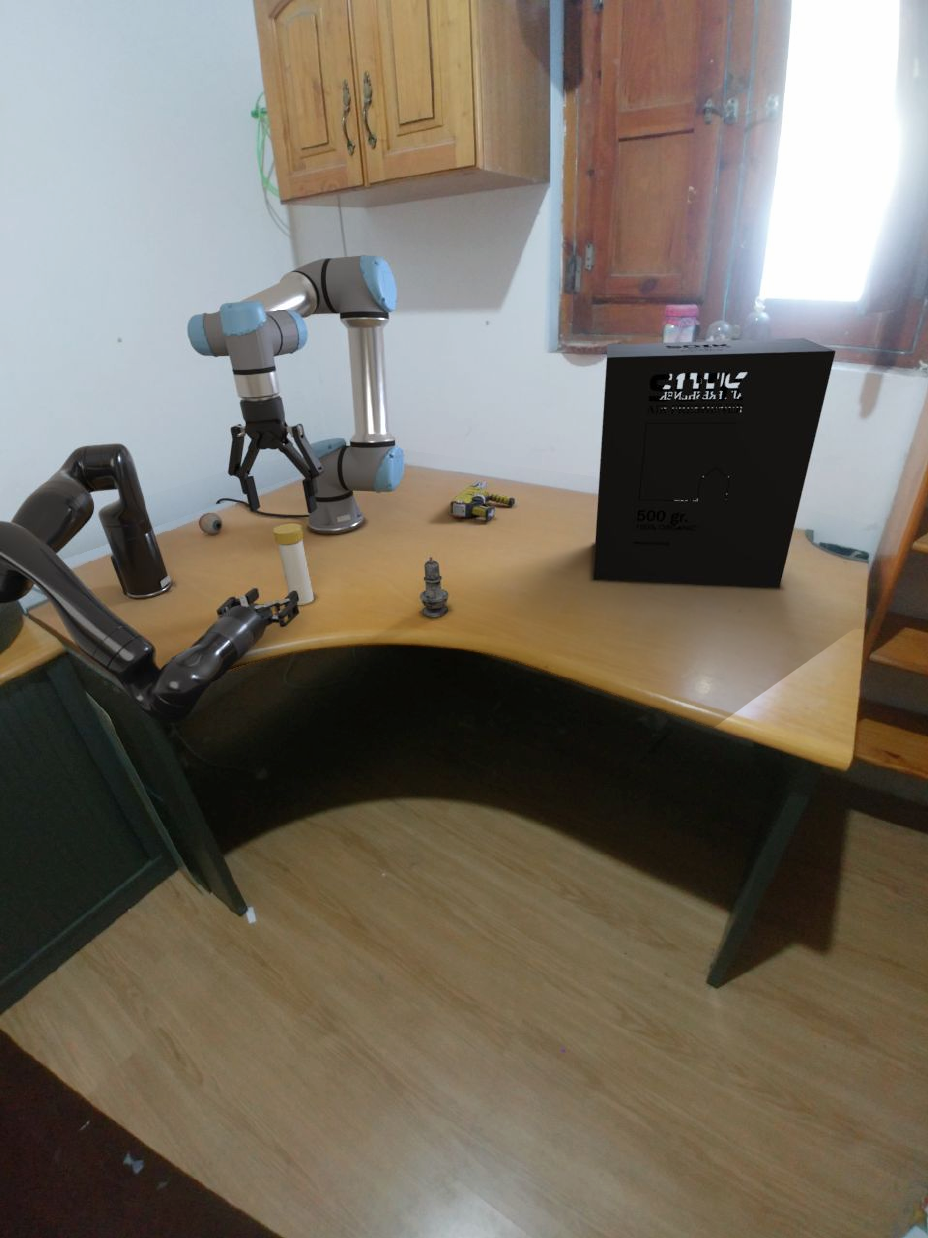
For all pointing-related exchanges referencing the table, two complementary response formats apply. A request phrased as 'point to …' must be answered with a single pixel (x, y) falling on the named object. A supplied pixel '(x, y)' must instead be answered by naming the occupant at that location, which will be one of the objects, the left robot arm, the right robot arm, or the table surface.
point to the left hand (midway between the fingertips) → (276, 593)
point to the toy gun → (477, 502)
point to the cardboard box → (706, 459)
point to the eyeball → (210, 523)
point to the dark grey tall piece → (433, 591)
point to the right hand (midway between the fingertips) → (283, 510)
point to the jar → (296, 571)
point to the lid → (288, 534)
